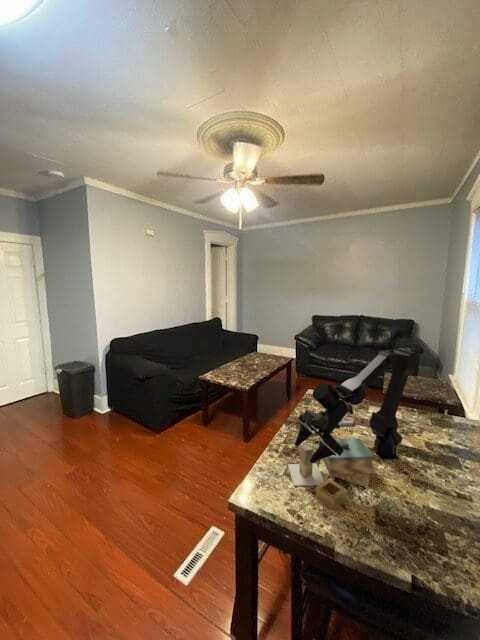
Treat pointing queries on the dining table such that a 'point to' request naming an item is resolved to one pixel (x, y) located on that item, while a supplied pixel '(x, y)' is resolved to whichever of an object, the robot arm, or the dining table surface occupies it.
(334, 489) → the frame
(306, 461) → the brown square block
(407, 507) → the dining table surface
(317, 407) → the dining table surface
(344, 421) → the adjustable wrench
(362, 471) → the drawer
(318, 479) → the grey mat
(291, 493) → the dining table surface
